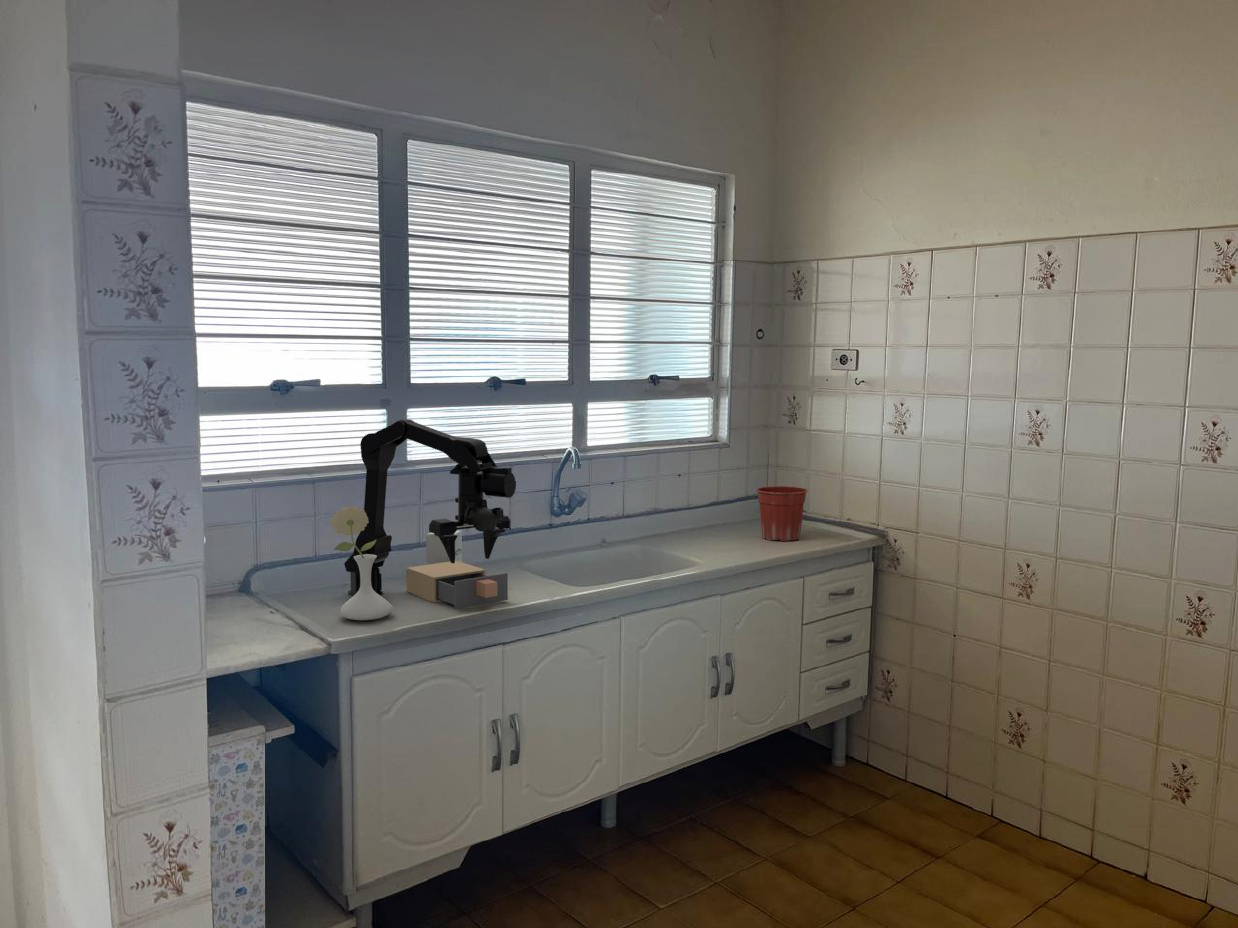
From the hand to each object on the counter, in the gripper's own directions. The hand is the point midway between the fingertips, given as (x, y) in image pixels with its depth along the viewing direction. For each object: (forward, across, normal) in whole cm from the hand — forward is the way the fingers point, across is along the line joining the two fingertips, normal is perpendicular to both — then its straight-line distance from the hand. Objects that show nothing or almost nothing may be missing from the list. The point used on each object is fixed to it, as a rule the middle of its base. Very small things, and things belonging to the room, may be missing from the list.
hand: (470, 560), depth 223 cm
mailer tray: (+10, +2, +3) cm, 11 cm away
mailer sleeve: (+11, +2, +14) cm, 18 cm away
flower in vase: (+11, -24, +5) cm, 27 cm away
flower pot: (+10, +124, +13) cm, 125 cm away
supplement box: (+11, +9, +28) cm, 31 cm away
